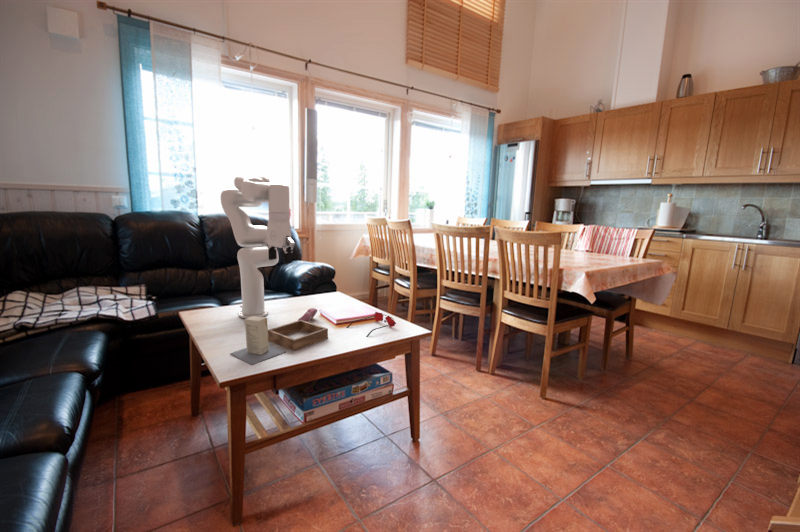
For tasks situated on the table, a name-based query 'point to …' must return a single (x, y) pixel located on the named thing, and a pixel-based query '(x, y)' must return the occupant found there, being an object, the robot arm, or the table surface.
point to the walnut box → (315, 336)
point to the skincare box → (257, 335)
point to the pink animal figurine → (309, 315)
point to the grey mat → (257, 355)
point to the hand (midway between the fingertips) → (280, 261)
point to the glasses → (380, 318)
